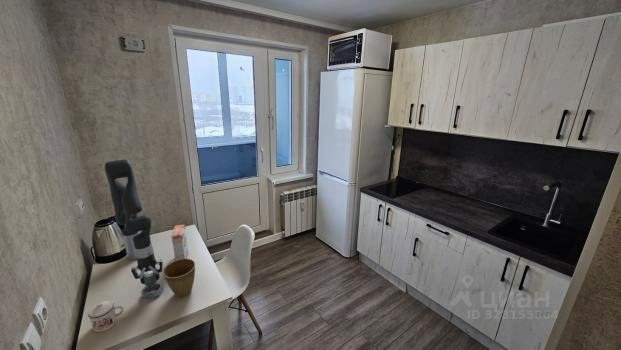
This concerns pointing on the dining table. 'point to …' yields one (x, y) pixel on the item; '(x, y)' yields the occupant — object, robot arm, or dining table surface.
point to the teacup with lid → (103, 316)
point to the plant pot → (180, 276)
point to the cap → (149, 278)
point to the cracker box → (180, 242)
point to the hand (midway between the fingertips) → (150, 281)
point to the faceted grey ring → (152, 295)
